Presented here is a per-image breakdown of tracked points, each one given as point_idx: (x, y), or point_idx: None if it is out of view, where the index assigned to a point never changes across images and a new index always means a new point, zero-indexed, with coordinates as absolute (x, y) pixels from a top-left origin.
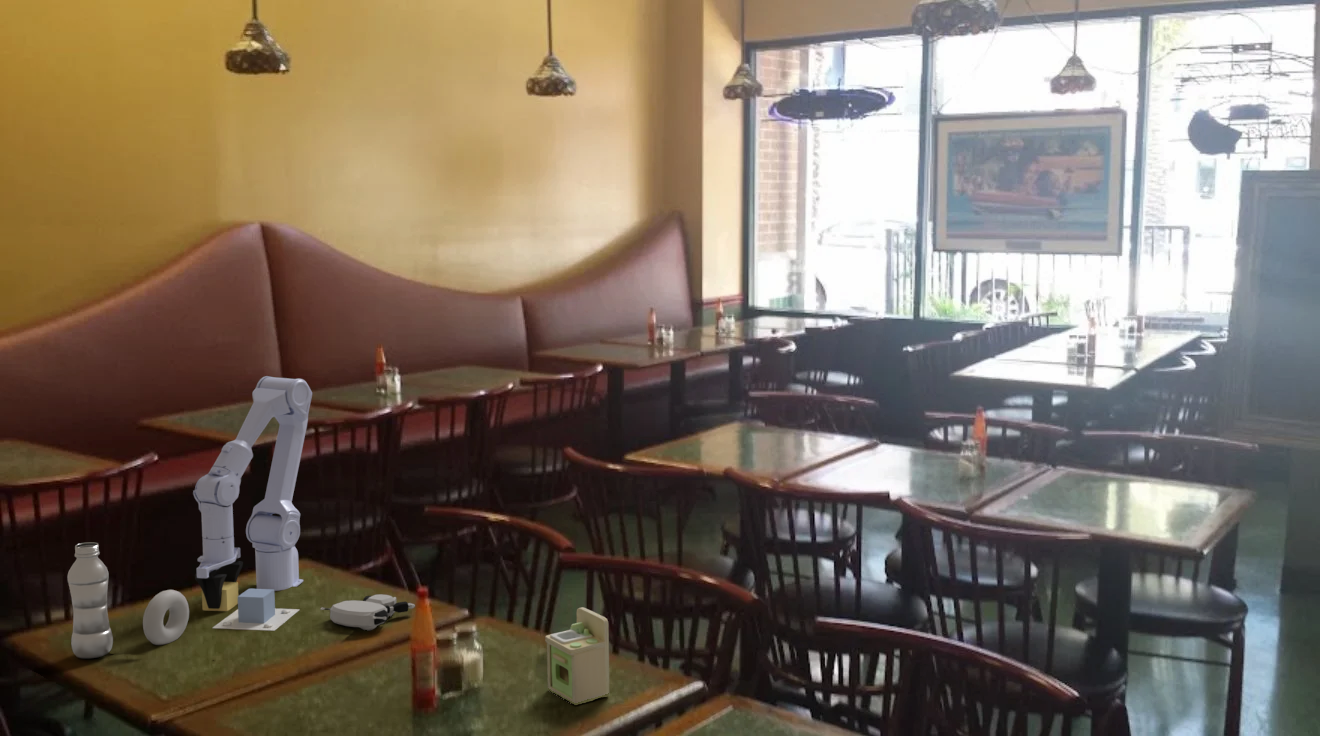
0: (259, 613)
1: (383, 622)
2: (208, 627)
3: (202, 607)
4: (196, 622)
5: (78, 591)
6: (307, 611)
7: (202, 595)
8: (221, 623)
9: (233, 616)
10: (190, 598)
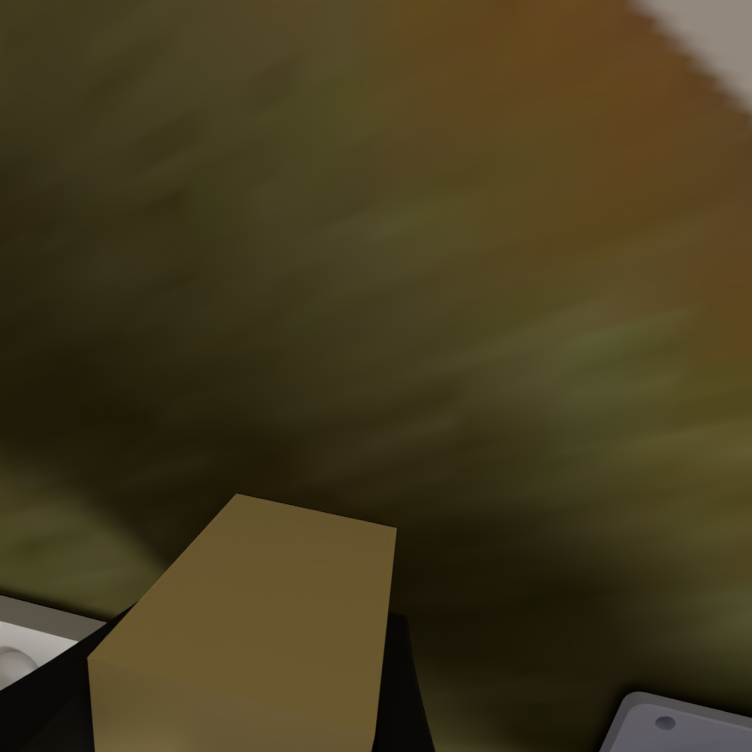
0: None
1: None
2: (44, 564)
3: (211, 521)
4: (101, 491)
5: None
6: None
7: (143, 599)
8: (30, 641)
9: None
10: (608, 313)
